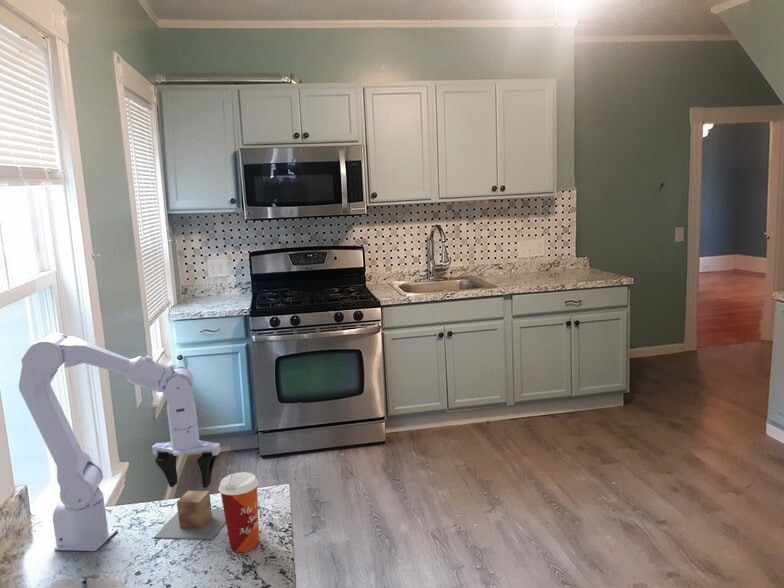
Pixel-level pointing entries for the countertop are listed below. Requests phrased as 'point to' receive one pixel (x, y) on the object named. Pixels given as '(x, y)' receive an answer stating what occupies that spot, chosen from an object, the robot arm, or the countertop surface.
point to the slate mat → (207, 532)
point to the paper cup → (241, 510)
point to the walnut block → (194, 509)
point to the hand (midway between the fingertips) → (190, 485)
